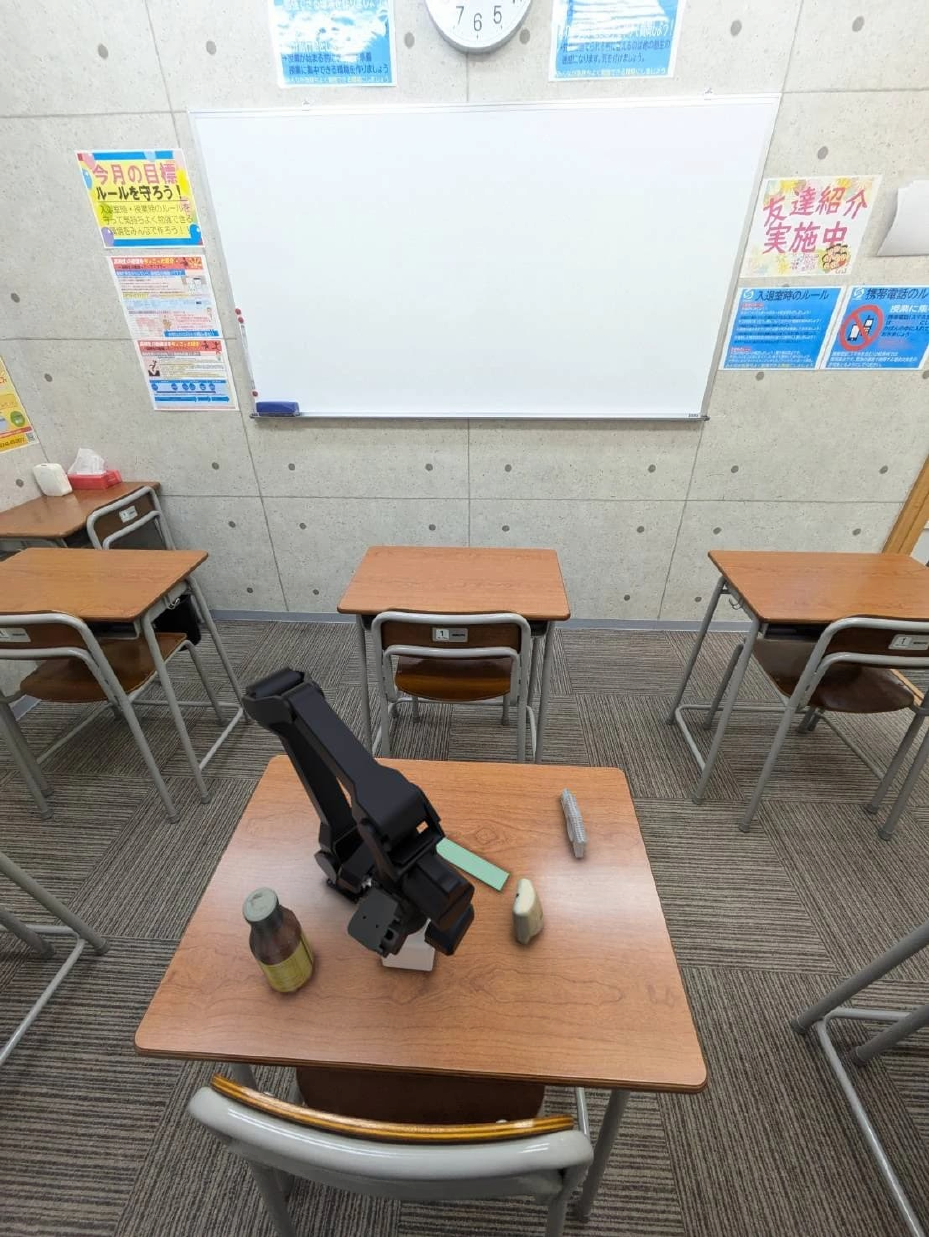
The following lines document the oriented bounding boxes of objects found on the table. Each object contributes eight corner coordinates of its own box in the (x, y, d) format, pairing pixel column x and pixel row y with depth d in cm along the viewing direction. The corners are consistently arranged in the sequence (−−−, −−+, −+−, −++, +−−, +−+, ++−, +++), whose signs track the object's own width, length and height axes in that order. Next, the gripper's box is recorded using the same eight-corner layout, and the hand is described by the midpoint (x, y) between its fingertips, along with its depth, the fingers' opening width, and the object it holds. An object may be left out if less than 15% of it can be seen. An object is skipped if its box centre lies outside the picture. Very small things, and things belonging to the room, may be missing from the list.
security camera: (439, 919, 79) (435, 876, 72) (432, 972, 73) (427, 930, 66) (393, 915, 79) (385, 871, 73) (382, 966, 74) (373, 924, 67)
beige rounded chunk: (501, 910, 80) (502, 882, 75) (532, 900, 81) (535, 871, 77) (515, 949, 75) (518, 921, 71) (548, 937, 77) (552, 908, 72)
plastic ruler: (423, 846, 89) (423, 845, 89) (433, 832, 91) (433, 831, 91) (499, 891, 82) (499, 890, 82) (509, 874, 85) (509, 873, 84)
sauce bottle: (278, 947, 76) (245, 872, 65) (321, 948, 76) (294, 873, 65) (263, 999, 70) (223, 926, 59) (308, 1000, 70) (276, 928, 59)
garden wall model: (559, 799, 96) (562, 778, 93) (569, 799, 97) (572, 778, 93) (574, 860, 86) (578, 839, 83) (585, 859, 87) (589, 838, 83)
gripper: (299, 878, 63) (320, 940, 72) (423, 967, 55) (430, 1024, 64) (359, 811, 71) (372, 874, 80) (476, 879, 63) (476, 941, 71)
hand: (409, 924), depth 73 cm, fingers closed on security camera, 9 cm apart
